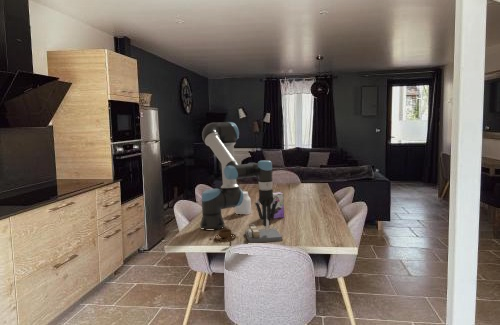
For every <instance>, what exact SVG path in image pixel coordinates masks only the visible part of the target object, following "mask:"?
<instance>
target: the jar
mask: <svg viewBox="0 0 500 325" xmlns="http://www.w3.org/2000/svg"><path fill="white" fill-rule="evenodd" d="M242 192H243V202H242V203H241V205H240V206H237V207H234V214H235V213H236V214H249V215H251V214H252V206H251V205H252V200H251V199H252V198H251V197H250V196H249V192H248V191H242ZM250 213H251V214H250ZM236 214H235V215H236Z"/></svg>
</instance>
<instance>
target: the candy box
mask: <svg viewBox="0 0 500 325" xmlns="http://www.w3.org/2000/svg"><path fill="white" fill-rule="evenodd" d="M273 198H274V200H276V201H278V203H277V205H276V209H275V214H274V218H272V219H282V218H285V210H284V209H285V208H284V204H285V203H284V193H282V192H273ZM272 205H273V202H272V204H271V208H270V211H271V210H272ZM261 212H262V216H263V211H262V210H261ZM266 219H267V206H266ZM272 219H271V220H272Z"/></svg>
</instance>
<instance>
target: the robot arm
mask: <svg viewBox="0 0 500 325" xmlns="http://www.w3.org/2000/svg"><path fill="white" fill-rule="evenodd" d="M239 136H240V130H239V128H238V126H237V124H236V123H235V122H232V121H223V122H219V121H218V122H210V123H207V124H206V125H205V126H204V127H203V130H202V132H201V137H202V141H203V142H204V144H205V145H206V146H207V147H209V148H210V149H211V151H212V153H213V154H214V155H215V156H216V159H218V161H219V162H220V164H221V176H222V185H221V186H220V189H219V188H211V189H207V190H204V191H203V192H202V193H201V212H202V217H201V220H200V224H199V225H200V226H199V228H200V227H201V228H204V229H219V228H222V227H224V226H225V227H226V225H225V220H224V218H223V215H222V210H225V209H229V208H230V209H231V208H234V209H235V207H237V206H240V205H241V203H242V202H243V192H244V191H243V188H242V189H241V188H240V186H239V185H238V183H237V180H239V179H244V178H245V179H246V178H253V177H255V178H258V197H259V198H258V199H257V201H256V202H254V205H255V207H256V209H257V213H258V216H259V219H260V220H262V224H263V226H264V229H265V231H266V232H269V229H270V227H271V220H272V218H274V214H275V209H276V205H277V203H278V201H276V200H274V198H273V193H274V190H273V183H274V182H273V163H272V161H271V160H259V161H258V162H257V163H256V162H248V163H244V164H239V163H238V162H237V160H236V158H235V147H234V146H235V145H236V144H237V140H238V139H239V138H240V137H239ZM272 202H273V205H272V210H271V211H270V208H271V204H272ZM266 206H267V219H266ZM262 211H263V216H262ZM274 219H275V218H274ZM225 227H224V228H225ZM222 229H223V228H222ZM219 230H220V229H219Z"/></svg>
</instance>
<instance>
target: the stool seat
mask: <svg viewBox="0 0 500 325" xmlns="http://www.w3.org/2000/svg"><path fill="white" fill-rule="evenodd" d="M258 230H259V232H260V237H258V238H254V237H253V235H252V231H251V229H250V228H248V229H247V230H244V234H246V235H245V237H246V239H247V241H248V243H249V244H254V243H253V242H255V243H266V242H278V241H279V242H281V241H283V236H282V234H281V233H280V232H279V231H278V229H277V227H276V228H274V227H271V228H269V232H266V231H265V228H261V229H260V228H259V229H258Z"/></svg>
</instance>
